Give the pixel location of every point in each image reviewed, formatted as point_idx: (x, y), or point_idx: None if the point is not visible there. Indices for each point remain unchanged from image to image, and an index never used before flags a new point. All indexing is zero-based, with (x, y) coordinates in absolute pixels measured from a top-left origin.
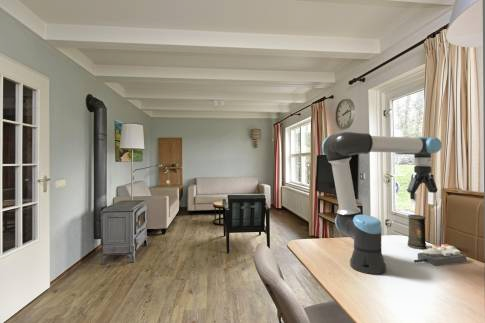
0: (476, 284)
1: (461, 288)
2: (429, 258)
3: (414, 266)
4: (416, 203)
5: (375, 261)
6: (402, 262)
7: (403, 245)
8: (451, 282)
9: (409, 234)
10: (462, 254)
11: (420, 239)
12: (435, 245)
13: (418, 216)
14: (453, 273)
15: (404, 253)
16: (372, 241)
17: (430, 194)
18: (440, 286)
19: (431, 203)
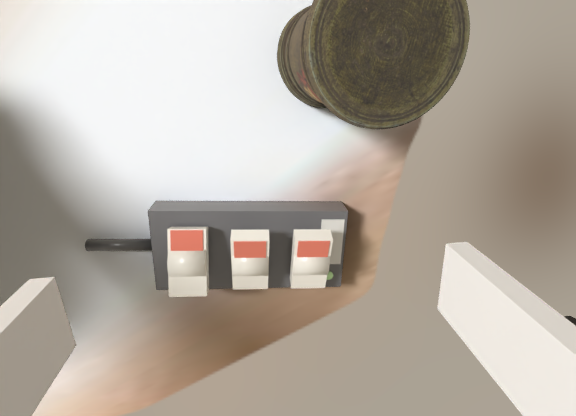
0: (158, 393)
1: (84, 400)
2: (155, 263)
3: (69, 256)
4: (58, 370)
5: None
6: (47, 211)
7: (270, 6)
8: (91, 372)
9: (295, 29)
10: (339, 274)
11: (313, 100)
12: (243, 244)
13: (382, 71)
14: (166, 331)
15: (155, 122)
16: None
17: (567, 406)
18: None
19: (446, 296)
